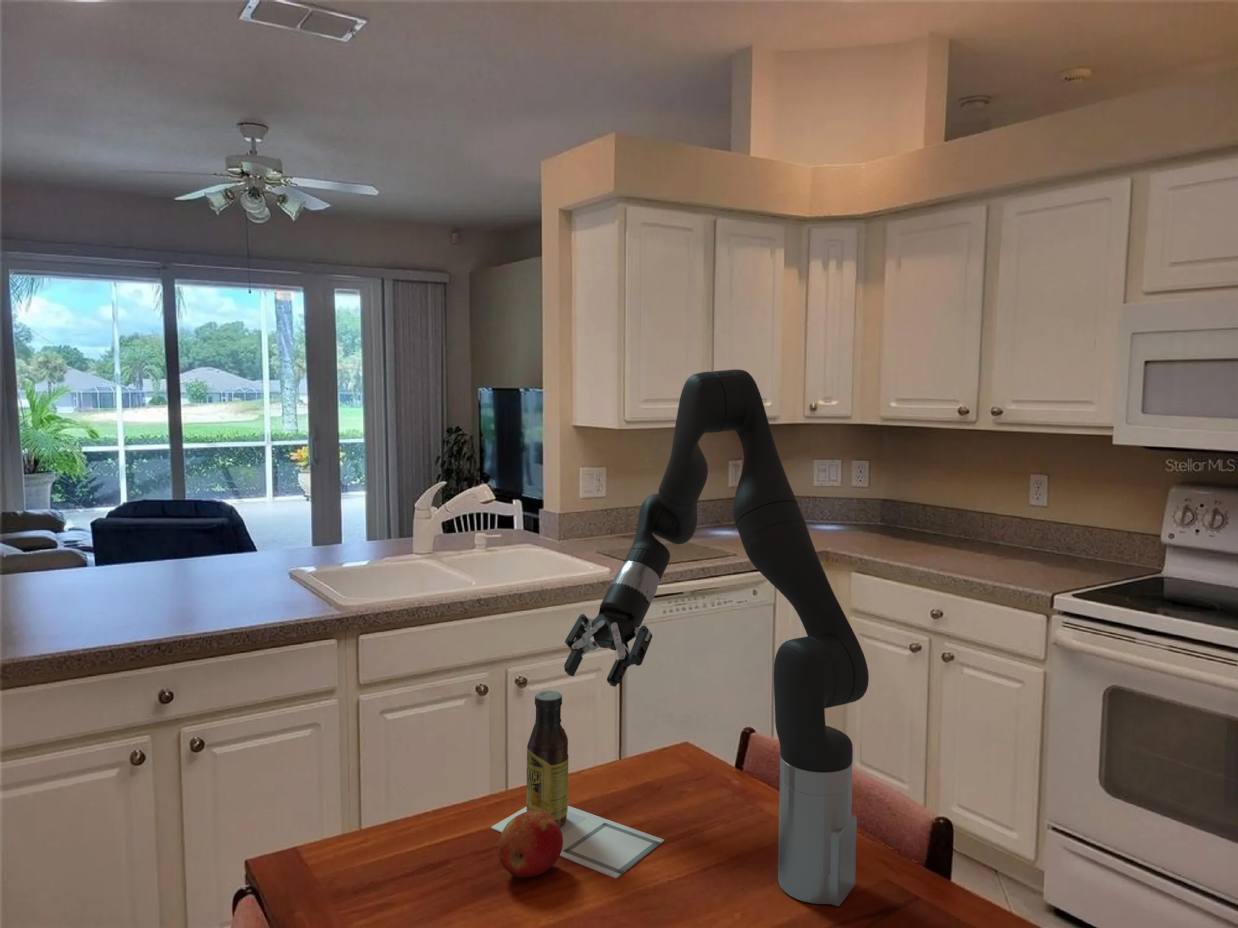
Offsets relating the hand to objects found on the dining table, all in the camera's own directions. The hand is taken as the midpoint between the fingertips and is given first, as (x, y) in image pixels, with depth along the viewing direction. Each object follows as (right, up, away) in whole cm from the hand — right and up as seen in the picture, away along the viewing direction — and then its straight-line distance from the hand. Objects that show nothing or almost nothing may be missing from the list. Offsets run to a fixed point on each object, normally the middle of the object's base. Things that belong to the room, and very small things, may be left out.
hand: (589, 678), depth 134 cm
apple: (-7, -21, -20) cm, 30 cm away
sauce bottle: (-6, -20, -7) cm, 22 cm away
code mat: (-2, -20, -10) cm, 23 cm away
